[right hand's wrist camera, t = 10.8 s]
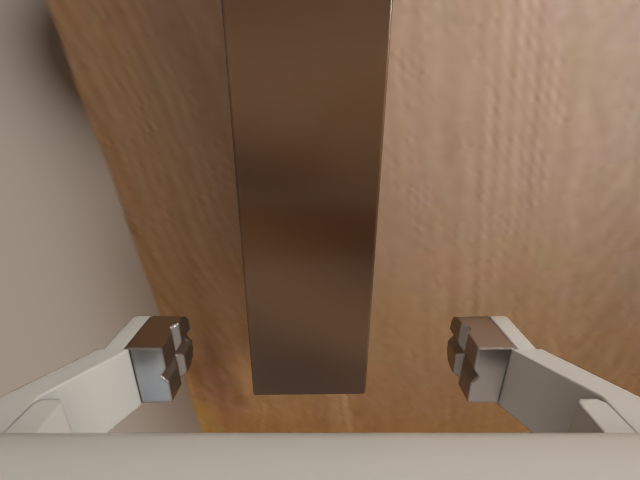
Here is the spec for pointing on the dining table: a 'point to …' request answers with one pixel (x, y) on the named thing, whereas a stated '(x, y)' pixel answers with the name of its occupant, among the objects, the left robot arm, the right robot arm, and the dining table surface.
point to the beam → (308, 183)
